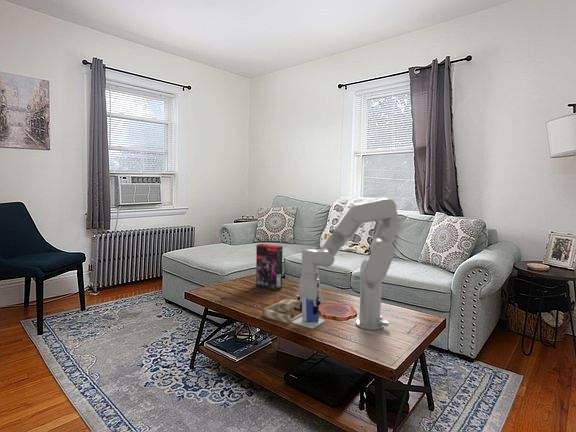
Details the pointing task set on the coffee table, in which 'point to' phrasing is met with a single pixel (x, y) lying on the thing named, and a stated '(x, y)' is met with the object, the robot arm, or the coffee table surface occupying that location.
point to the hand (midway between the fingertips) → (309, 312)
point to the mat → (308, 322)
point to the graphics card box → (269, 266)
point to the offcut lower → (288, 313)
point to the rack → (271, 313)
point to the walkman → (309, 310)
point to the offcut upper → (285, 305)
